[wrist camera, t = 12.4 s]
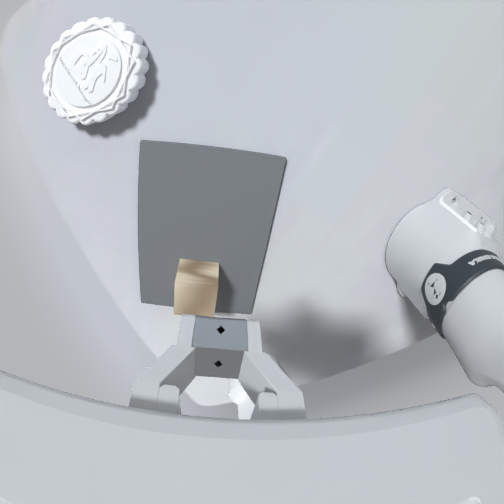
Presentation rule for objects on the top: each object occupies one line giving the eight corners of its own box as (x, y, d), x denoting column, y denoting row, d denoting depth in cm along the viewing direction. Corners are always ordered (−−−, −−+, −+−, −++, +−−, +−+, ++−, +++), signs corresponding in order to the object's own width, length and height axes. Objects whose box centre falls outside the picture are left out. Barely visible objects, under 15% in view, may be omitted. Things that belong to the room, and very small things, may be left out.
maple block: (213, 318, 38) (214, 292, 42) (218, 287, 35) (218, 262, 39) (173, 314, 37) (178, 288, 41) (174, 282, 34) (179, 258, 38)
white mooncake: (170, 78, 27) (163, 78, 24) (87, 141, 30) (74, 148, 27) (117, 0, 21) (105, -6, 18) (39, 68, 24) (23, 70, 21)
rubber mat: (285, 157, 33) (286, 158, 32) (250, 311, 45) (250, 314, 44) (141, 140, 30) (140, 141, 30) (142, 299, 42) (141, 302, 42)
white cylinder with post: (240, 347, 49) (244, 409, 39) (287, 357, 52) (298, 416, 42) (221, 375, 54) (221, 431, 43) (264, 383, 56) (270, 437, 46)
